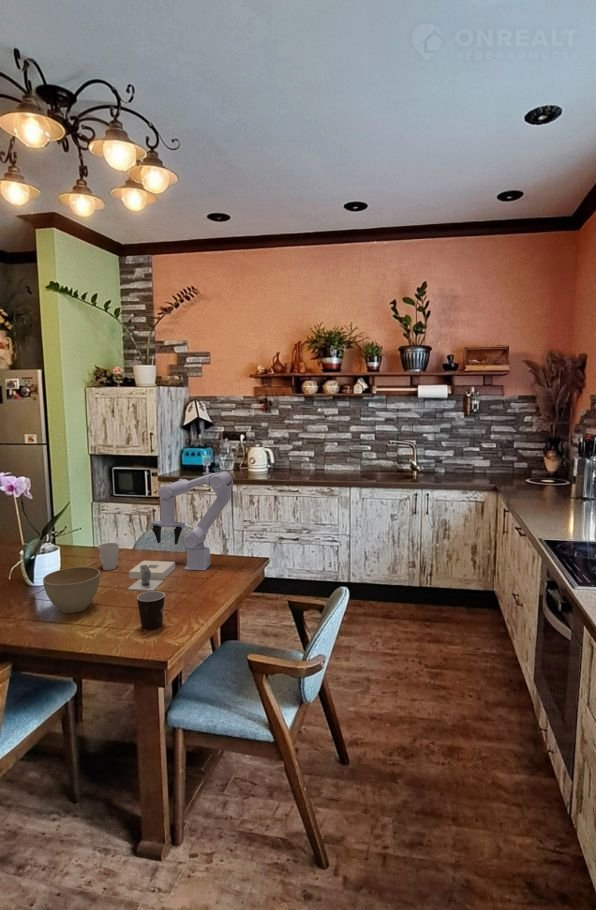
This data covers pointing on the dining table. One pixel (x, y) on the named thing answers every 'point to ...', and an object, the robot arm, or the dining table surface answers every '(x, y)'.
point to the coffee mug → (151, 609)
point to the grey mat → (139, 587)
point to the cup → (108, 555)
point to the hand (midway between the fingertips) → (167, 543)
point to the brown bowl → (72, 588)
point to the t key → (145, 575)
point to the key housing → (153, 570)
